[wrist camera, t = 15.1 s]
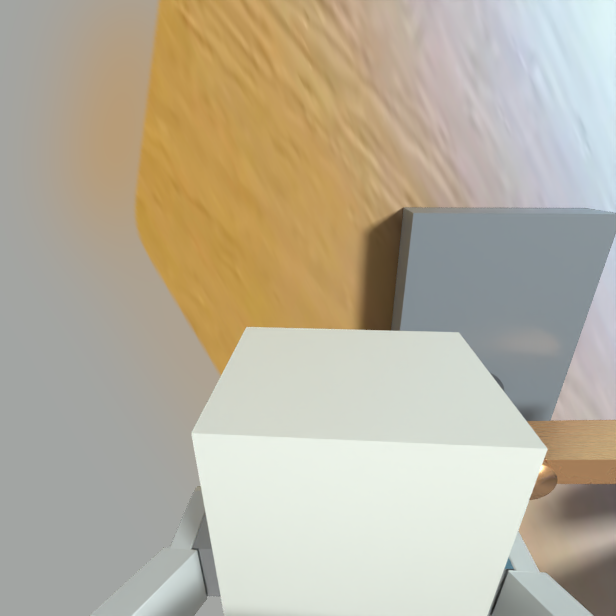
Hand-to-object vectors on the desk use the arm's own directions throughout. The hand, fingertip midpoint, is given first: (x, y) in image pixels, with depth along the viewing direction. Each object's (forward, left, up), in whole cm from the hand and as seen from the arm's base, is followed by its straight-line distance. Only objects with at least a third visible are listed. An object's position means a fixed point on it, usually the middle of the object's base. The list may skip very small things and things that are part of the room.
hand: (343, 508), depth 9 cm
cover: (0, 0, -1) cm, 1 cm away
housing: (-2, -11, -18) cm, 21 cm away
